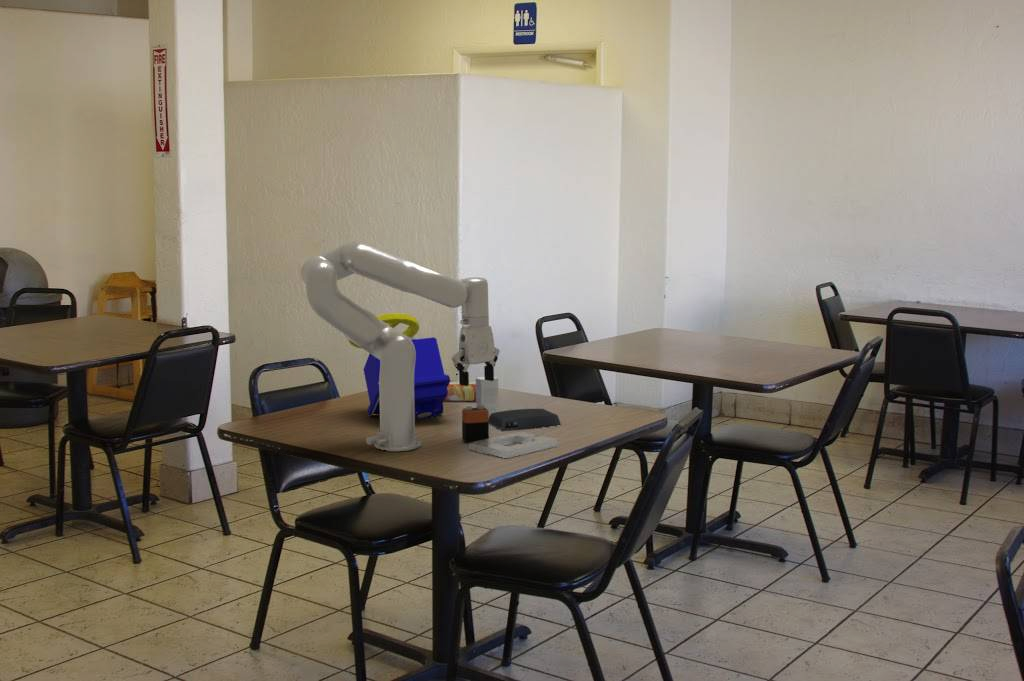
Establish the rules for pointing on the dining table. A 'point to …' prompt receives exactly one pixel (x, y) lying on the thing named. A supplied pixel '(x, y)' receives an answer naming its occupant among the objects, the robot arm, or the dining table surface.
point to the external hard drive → (523, 419)
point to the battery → (475, 424)
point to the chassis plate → (526, 439)
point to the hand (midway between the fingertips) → (476, 382)
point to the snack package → (461, 392)
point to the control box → (426, 374)
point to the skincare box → (487, 394)
